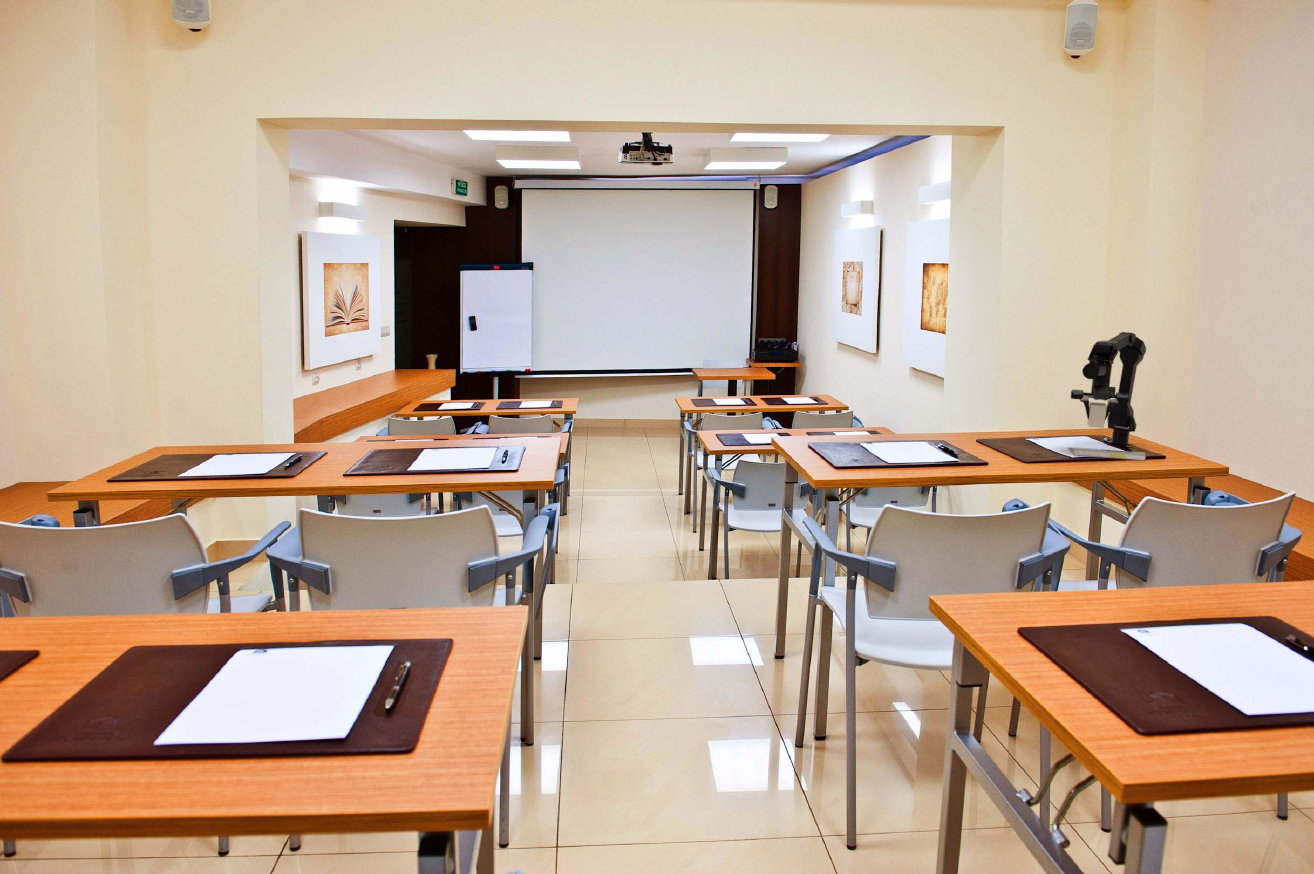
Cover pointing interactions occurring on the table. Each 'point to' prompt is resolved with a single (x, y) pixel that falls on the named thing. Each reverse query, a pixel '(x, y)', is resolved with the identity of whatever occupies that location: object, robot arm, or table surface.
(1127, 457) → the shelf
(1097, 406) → the tea box
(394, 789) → the table surface
